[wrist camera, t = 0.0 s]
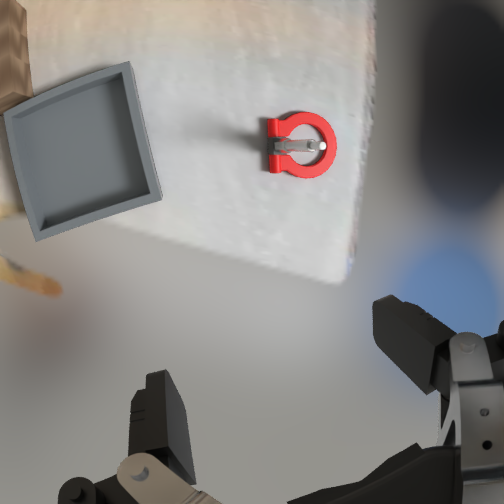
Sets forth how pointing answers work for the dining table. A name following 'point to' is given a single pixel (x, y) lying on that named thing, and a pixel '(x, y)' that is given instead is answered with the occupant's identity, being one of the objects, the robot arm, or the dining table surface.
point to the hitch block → (13, 56)
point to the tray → (82, 152)
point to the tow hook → (299, 145)
